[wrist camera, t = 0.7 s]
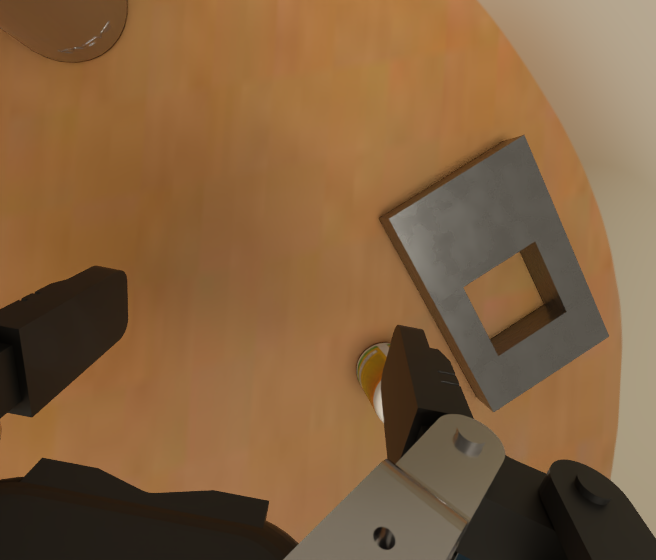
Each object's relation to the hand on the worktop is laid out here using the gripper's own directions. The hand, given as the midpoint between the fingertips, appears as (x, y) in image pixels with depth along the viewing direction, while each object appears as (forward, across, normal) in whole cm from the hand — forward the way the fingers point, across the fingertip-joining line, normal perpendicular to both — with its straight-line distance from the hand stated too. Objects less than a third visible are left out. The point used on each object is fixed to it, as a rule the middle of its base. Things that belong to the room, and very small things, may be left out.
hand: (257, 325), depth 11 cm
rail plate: (+27, -18, +5) cm, 32 cm away
